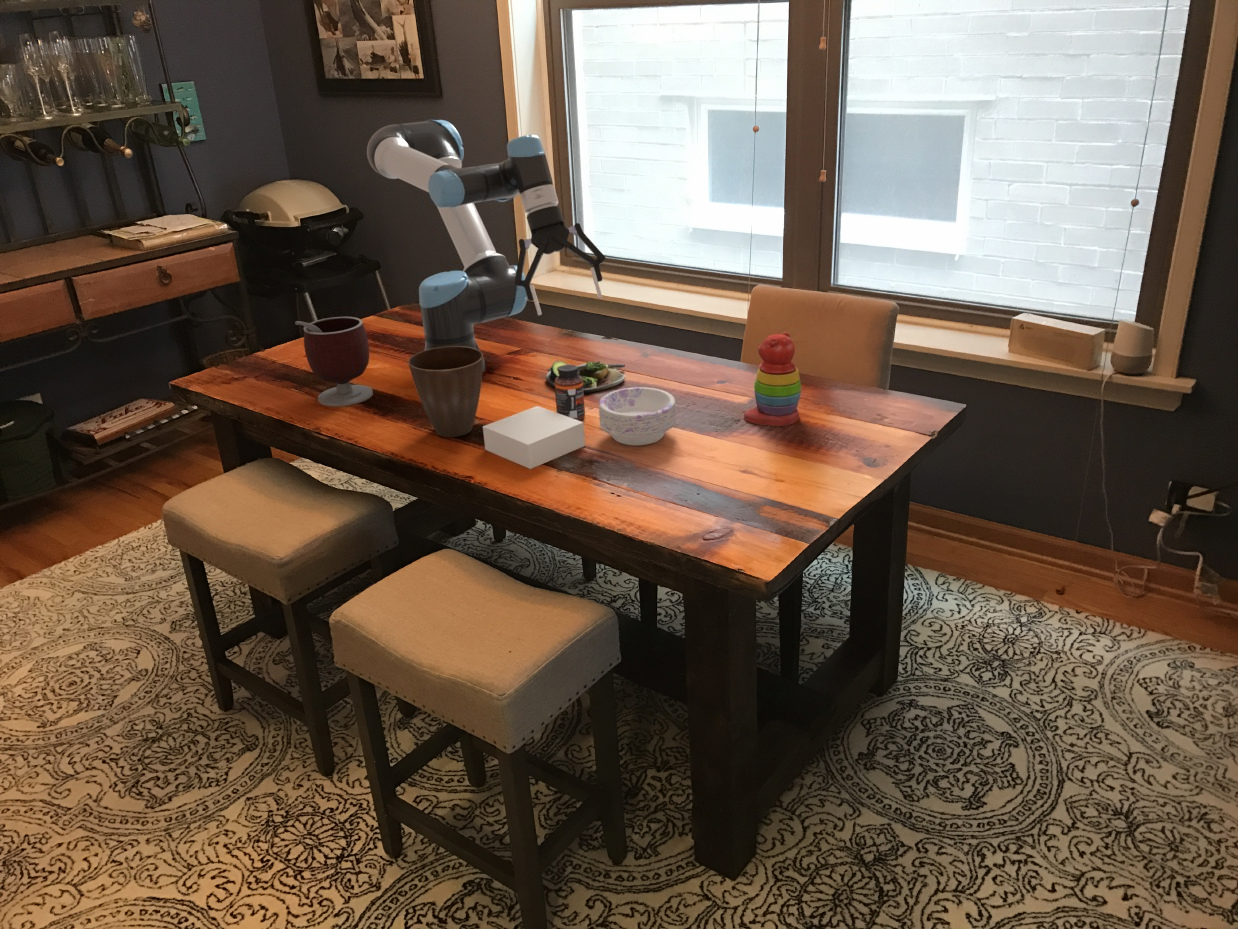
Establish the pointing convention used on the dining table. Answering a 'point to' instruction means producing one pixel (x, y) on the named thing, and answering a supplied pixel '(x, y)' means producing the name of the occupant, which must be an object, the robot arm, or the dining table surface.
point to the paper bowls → (637, 415)
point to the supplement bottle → (569, 392)
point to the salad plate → (591, 375)
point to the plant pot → (449, 386)
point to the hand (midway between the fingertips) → (570, 306)
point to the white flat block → (534, 436)
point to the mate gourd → (338, 357)
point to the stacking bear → (776, 384)
